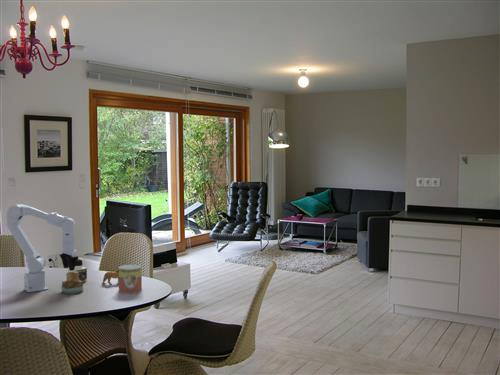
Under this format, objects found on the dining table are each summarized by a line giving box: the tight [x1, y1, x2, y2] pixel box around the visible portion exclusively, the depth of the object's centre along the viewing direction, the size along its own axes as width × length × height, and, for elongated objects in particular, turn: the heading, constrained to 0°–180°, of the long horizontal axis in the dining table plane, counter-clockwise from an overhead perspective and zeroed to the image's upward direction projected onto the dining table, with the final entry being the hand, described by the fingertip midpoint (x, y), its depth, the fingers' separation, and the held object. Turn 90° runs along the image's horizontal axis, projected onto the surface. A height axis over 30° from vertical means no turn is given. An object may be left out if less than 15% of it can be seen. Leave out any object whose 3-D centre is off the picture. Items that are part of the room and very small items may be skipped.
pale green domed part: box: [61, 285, 84, 295], centre depth 253 cm, size 10×10×2 cm
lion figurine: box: [101, 269, 119, 286], centre depth 270 cm, size 15×5×9 cm, turn 131°
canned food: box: [117, 264, 143, 295], centre depth 256 cm, size 11×11×12 cm
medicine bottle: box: [67, 257, 88, 283], centre depth 274 cm, size 7×7×12 cm
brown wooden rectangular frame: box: [61, 280, 84, 289], centre depth 253 cm, size 8×6×2 cm
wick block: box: [65, 271, 79, 283], centre depth 253 cm, size 5×2×7 cm, turn 130°
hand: (68, 268), depth 259 cm, fingers open, 7 cm apart
